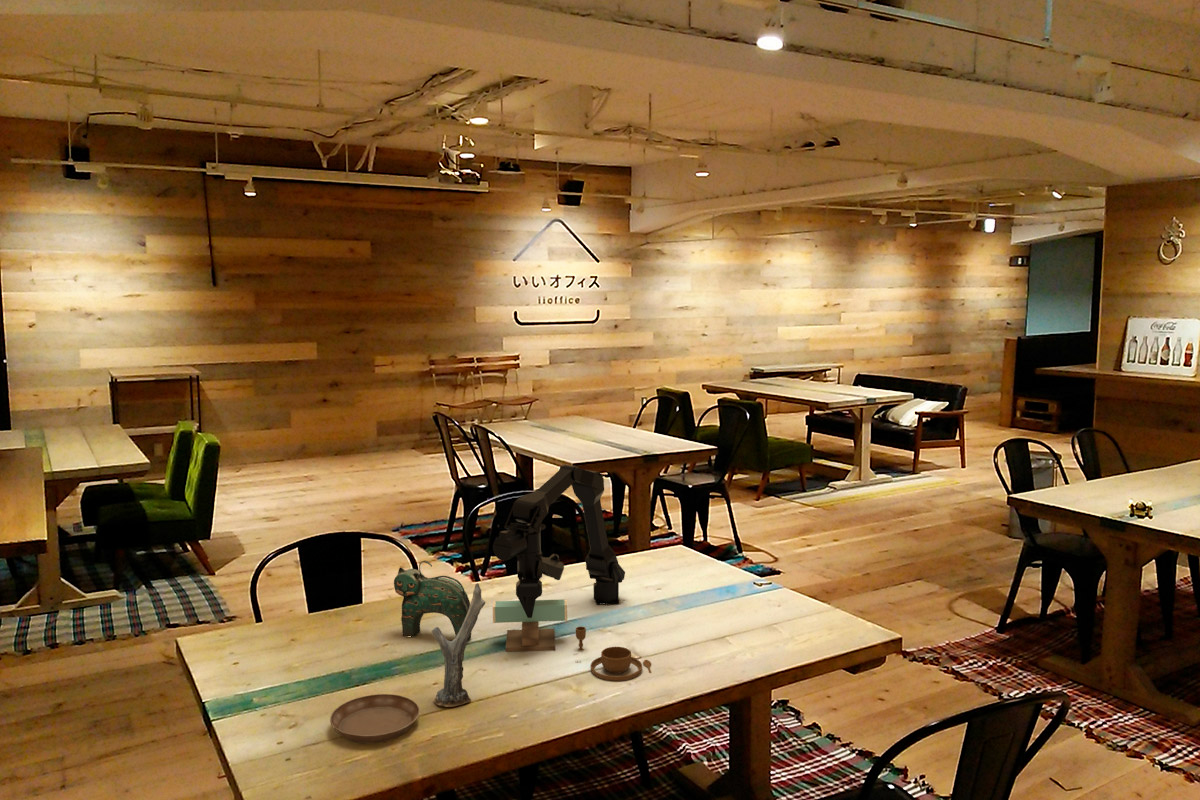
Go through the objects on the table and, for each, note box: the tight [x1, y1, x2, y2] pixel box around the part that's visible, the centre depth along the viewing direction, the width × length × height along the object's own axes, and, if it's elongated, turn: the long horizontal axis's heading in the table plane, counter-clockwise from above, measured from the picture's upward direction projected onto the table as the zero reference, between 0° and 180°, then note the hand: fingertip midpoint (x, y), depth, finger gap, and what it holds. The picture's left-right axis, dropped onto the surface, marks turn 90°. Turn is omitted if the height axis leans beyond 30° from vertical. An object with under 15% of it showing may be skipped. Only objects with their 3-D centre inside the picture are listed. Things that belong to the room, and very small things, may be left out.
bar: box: [492, 598, 568, 624], centre depth 227 cm, size 18×4×4 cm, turn 93°
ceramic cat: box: [393, 560, 472, 643], centre depth 230 cm, size 20×6×20 cm, turn 73°
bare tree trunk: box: [431, 582, 486, 708], centre depth 197 cm, size 12×8×25 cm
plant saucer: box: [329, 693, 421, 744], centre depth 187 cm, size 18×18×3 cm
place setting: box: [575, 626, 652, 682], centre depth 216 cm, size 18×20×6 cm
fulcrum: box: [505, 622, 556, 653], centre depth 228 cm, size 12×11×6 cm
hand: (530, 610), depth 227 cm, fingers open, 9 cm apart
